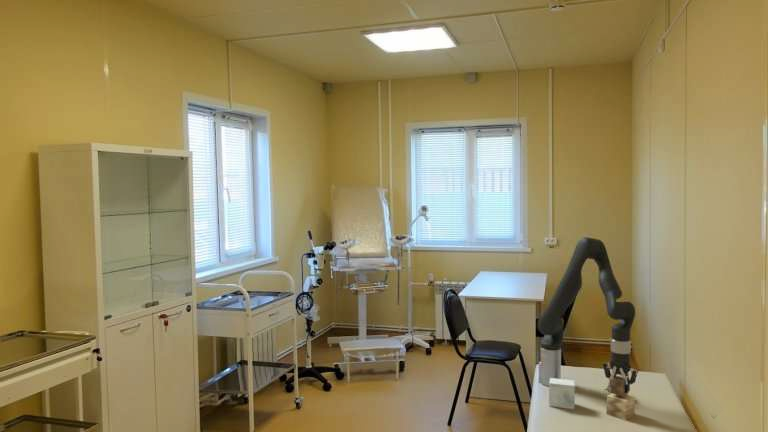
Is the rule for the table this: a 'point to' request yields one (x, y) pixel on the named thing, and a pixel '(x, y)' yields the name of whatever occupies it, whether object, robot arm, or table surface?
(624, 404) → the tower top
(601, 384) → the table surface
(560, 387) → the skincare box
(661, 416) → the table surface
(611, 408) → the tower base
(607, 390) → the game die
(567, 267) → the robot arm
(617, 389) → the block
